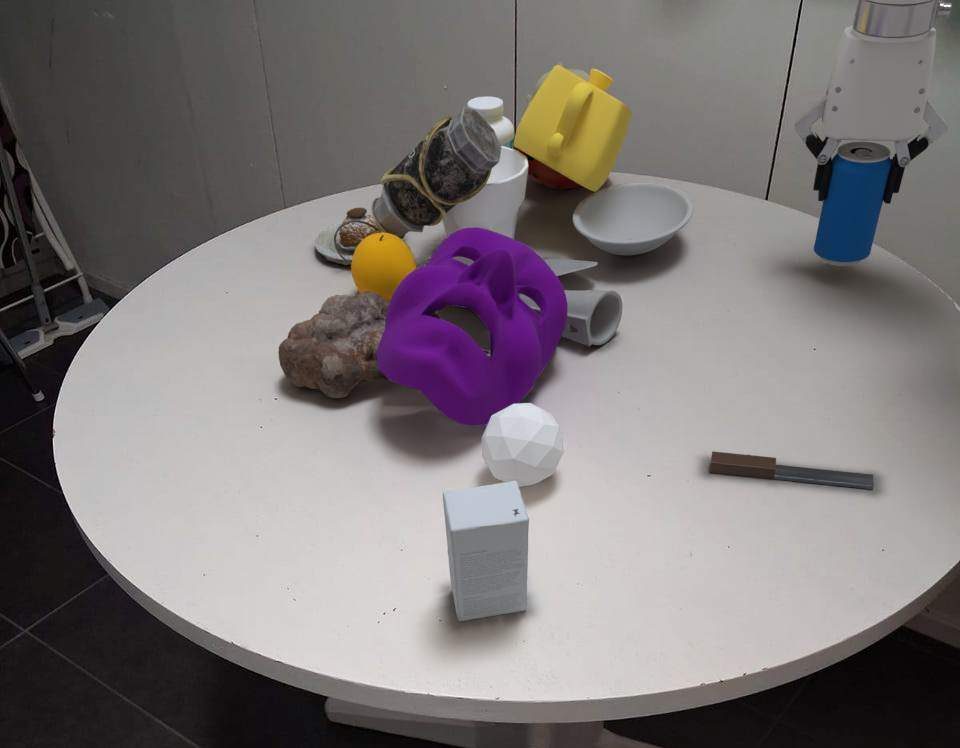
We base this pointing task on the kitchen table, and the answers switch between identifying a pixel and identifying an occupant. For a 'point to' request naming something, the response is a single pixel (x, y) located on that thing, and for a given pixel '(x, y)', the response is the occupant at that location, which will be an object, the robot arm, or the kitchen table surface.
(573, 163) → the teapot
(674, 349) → the kitchen table surface
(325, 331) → the rock
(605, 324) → the grey hollow tube
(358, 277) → the apple
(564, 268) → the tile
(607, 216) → the dish
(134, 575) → the kitchen table surface
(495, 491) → the cosmetic box
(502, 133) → the pill bottle
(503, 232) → the cup
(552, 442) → the geometric ball
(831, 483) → the knife
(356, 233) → the pastry
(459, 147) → the lantern
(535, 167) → the toy
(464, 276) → the mask
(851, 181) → the beverage can
